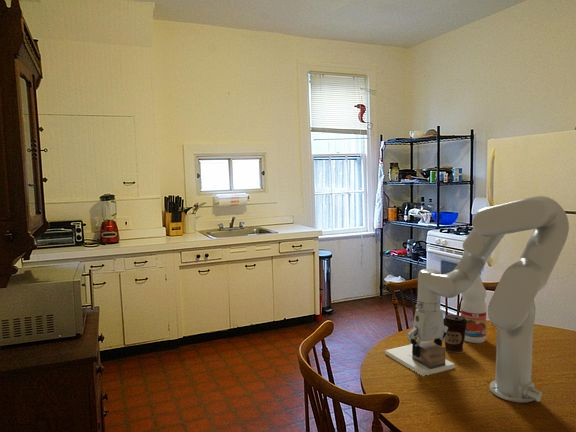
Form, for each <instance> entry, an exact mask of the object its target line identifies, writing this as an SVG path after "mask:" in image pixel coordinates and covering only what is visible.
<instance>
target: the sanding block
mask: <svg viewBox="0 0 576 432" xmlns="http://www.w3.org/2000/svg"><path fill="white" fill-rule="evenodd" d="M419 346H420V357H419V358H418V357H416V356H414V355H413V354H412V359H413V360H415V361H417V362H419V363H420V364H422V365H424V366H426V367H427V368H429V369H434V368H437V367H441V366H445V359H446V351H447V350H446V348H445V346H443V345H442V346H440V345H438V344H436V343H434V341H432V340H429V341H421V343H420V344H419Z"/></svg>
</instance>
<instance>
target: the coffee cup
mask: <svg viewBox="0 0 576 432" xmlns="http://www.w3.org/2000/svg"><path fill="white" fill-rule="evenodd" d="M444 316H445V317H443V320H444V325H445V326H447V327H448V330H447V332H446V335H445V337H444V340H443V341H444V348H446V351H447V352H450V353H453V354H462V353H463V352H464V348H463V347H464V342H465V341H464V340H465V330H466V325H467V321H466V320H465V317H463V316H461V314H445V315H444Z"/></svg>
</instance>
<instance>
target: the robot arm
mask: <svg viewBox="0 0 576 432" xmlns="http://www.w3.org/2000/svg"><path fill="white" fill-rule="evenodd" d="M471 224H472V229H471V231H470V232H469V233H468V234H467V237H466V238H465V239H464V241H463V243H462V248H463V254H462V257H461V259H460V260H459V262H458V263H457V265H456V266H455V267H454V269H453V270H452V271H450V272H447V273H443V274H442V273H441V271H439V270H437V269H432V268H423V269H420V270H419V271H418V273H417V299H416V300H417V301H416V302H417V303H416V304H415V308H416V309H415V312H414V317H413V325H412V326H413V327H412V329H411V330H409V331H408V332H407V333H406V337H407V339H408V341H409V342H410V345H411V344H412V354H413V355H414V356H416V357H418V358H419V357H420V346H419V344H420V343H421V341H433V343H436V344H438V345H440V346H442V347H443V341H445V340H444V337H445V335H446V332H447V330H448V327H447V326H445V325H444V320H443V319H444V314H443V309H442V308H441V299H442V298H445V299H452V298H455V297H457V296H458V295H460V294H462V292H464V291H466V290H467V289H468V288H469V287H470V286H471V285H472V284H473V282H474V281H475V280H476V278H477V277H478V276H479V274H480V273H481V274H482V271H483V269H484V267H485V266H486V263H487V262H488V260H489V258H490V257H491V255H492V253H493V252H494V251H495V250H496V248H497V246H498V245H499V243H500V242H501V241H502V239H504V237H505V235H508V234H514V233H520V232H523V231H531V230H533V231H532V234H531V236H530V237H529V239H528V241H527V242H526V244H525V248H524V249H523V252H522V254H521V255H520V257H519V259H518V260H517V261H515V263H512V264H511V265H510V266H508V267H507V268H506V269H505V271H504V272H503V273H502V275H501V277H500V279H499V280H498V284H497V286H496V288H495V290H494V292H493V294H492V296H491V298H490V301H489V302H488V306H487V316H488V319H489V321H490V322H491V324H492V325H493V326H494V327H496V328H497V329H496V343H495V344H496V347H495V377H494V378H495V379H494V380H492V381H491V382H490V383H489V390H490V391H491V393H492V394H493V395H494V396H497V397H498V398H499V399H503V400H506V401H509V402H514V403H521V404H522V403H530V402H533V401H536V402H537V403H538V402H540V401H541V399H542V396H543V392H542V391H540V390H538V389H536V388H535V382H533V381H532V366H533V365H532V364H533V363H532V361H533V344H534V343H533V340H534V339H533V336H534V327H535V319H536V314H537V312H536V311H537V309H536V303H535V298H536V296H537V295H538V292H540V291H541V290H542V289H544V288H545V287H546V285H547V283H548V281H549V279H550V276H551V274H552V272H553V270H554V268H555V266H556V264H557V262H558V260H559V258H560V255H561V253H562V251H563V249H564V247H565V245H566V242H567V239H568V237H569V231H570V224H569V219H568V215H567V213H566V211H565V210H564V208H563V207H562V206H561V205H560V204H559V203H558V202H557V201H556V200H555V199H553V198H550V197H549V196H544V195H539V196H532V197H526V198H522V199H517V200H514V201H510V202H507V203H502V204H498V205H493V206H487V207H484V208H480V209H479V210H478V211H476V213H475V214H474V215H473V217H472V221H471ZM441 297H442V298H441Z"/></svg>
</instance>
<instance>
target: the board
mask: <svg viewBox="0 0 576 432" xmlns="http://www.w3.org/2000/svg"><path fill="white" fill-rule="evenodd" d="M384 354H385V356H388V357H389V358H391V359H393V360H394V361H396V362H398V363H399V364H401V365H403V366H405V368H407V369H409V368H410V370H411V371H413V372H414V371H415V373H416V372H417V373H416V374H417V375H419V374H420V375H419V376H421V375H422V376H421V377H426V376H425V375H427V376H430V374H431V375H434V374H437V373H441V372H445V371H449V370H452V369H453V370H454V369H455V368H456V367H455V363H454V362H452V361H449V360H448V359H447V358H445V366H441V367H437V368H434V369H429V368H427V367H426V366H424V365H422V364H420V363H419V362H417V361H415V360H413V359H412V344H411V343H410V344H406V345H403V346H399V347H394V348H389V349H385V350H384ZM433 373H434V374H433Z"/></svg>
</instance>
